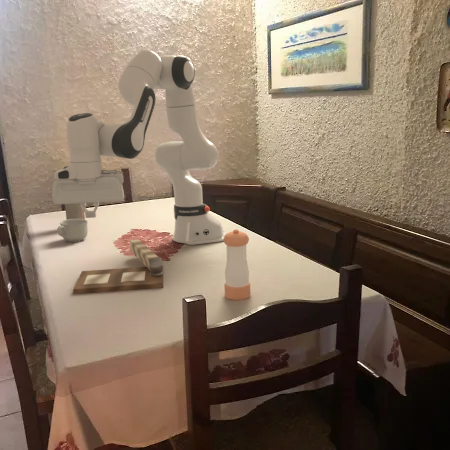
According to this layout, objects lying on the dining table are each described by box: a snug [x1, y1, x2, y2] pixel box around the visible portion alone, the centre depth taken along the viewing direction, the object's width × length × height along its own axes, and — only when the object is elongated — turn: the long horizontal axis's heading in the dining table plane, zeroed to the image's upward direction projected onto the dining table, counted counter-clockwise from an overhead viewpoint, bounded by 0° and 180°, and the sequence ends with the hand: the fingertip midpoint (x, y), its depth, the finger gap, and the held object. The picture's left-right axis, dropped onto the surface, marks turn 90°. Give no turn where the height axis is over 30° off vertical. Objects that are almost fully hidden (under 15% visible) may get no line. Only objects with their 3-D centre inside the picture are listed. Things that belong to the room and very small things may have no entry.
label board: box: [72, 265, 164, 295], centre depth 150 cm, size 26×16×2 cm, turn 97°
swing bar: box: [129, 238, 164, 273], centre depth 161 cm, size 28×4×4 cm, turn 25°
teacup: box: [56, 219, 89, 243], centre depth 196 cm, size 14×11×8 cm
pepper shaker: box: [222, 229, 251, 301], centre depth 134 cm, size 7×7×19 cm
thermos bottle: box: [63, 165, 86, 220], centre depth 215 cm, size 8×8×28 cm
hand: (91, 217), depth 143 cm, fingers closed
